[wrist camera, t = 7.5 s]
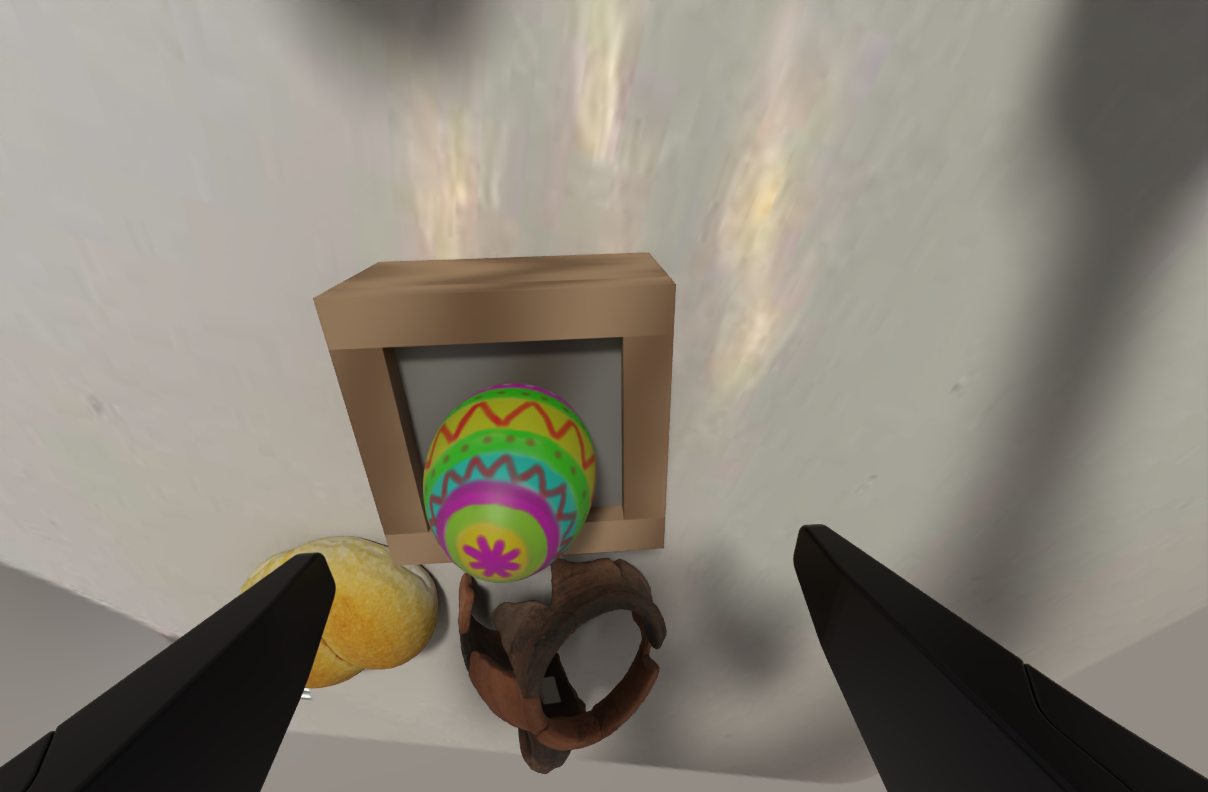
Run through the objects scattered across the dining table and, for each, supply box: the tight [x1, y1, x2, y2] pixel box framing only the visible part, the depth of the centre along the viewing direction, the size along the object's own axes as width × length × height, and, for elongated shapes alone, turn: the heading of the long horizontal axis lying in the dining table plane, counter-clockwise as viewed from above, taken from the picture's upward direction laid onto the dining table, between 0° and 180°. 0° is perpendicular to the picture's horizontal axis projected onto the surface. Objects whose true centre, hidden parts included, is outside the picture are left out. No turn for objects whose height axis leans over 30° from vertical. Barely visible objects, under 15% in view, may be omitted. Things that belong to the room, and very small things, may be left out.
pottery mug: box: [458, 558, 667, 774], centre depth 24 cm, size 12×10×8 cm
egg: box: [423, 383, 596, 583], centre depth 13 cm, size 5×5×6 cm
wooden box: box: [313, 253, 676, 566], centre depth 18 cm, size 10×10×5 cm
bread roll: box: [240, 536, 438, 688], centre depth 23 cm, size 8×9×4 cm
